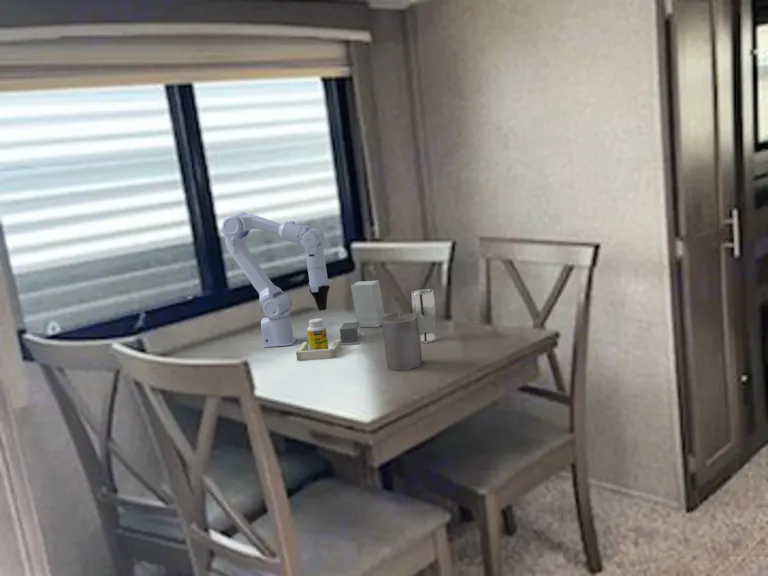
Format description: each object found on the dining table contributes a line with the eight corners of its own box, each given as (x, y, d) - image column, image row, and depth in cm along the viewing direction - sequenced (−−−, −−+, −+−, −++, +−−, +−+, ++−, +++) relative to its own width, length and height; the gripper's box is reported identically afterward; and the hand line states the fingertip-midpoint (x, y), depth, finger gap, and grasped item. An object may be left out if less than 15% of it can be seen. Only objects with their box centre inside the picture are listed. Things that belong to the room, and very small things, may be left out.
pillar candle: (394, 359, 216) (388, 308, 213) (427, 360, 213) (421, 307, 210) (381, 371, 208) (375, 317, 205) (416, 371, 204) (409, 316, 201)
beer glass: (413, 343, 230) (408, 294, 228) (418, 337, 237) (413, 289, 234) (436, 343, 229) (431, 293, 226) (440, 336, 235) (435, 288, 232)
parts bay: (297, 360, 226) (296, 352, 226) (304, 349, 237) (303, 341, 237) (335, 357, 225) (334, 349, 225) (341, 346, 236) (340, 339, 236)
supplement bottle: (315, 357, 228) (311, 323, 226) (307, 353, 233) (302, 320, 231) (332, 352, 231) (327, 319, 229) (323, 349, 236) (319, 316, 234)
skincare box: (385, 323, 260) (380, 279, 257) (378, 327, 254) (373, 283, 251) (363, 323, 263) (358, 280, 260) (355, 327, 258) (350, 284, 255)
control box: (339, 346, 237) (337, 330, 236) (344, 337, 247) (342, 322, 246) (358, 344, 237) (357, 328, 236) (362, 336, 246) (361, 320, 245)
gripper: (324, 270, 232) (330, 314, 234) (333, 261, 246) (339, 303, 249) (301, 272, 233) (308, 316, 235) (312, 264, 247) (317, 305, 250)
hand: (322, 309), depth 242 cm, fingers closed
